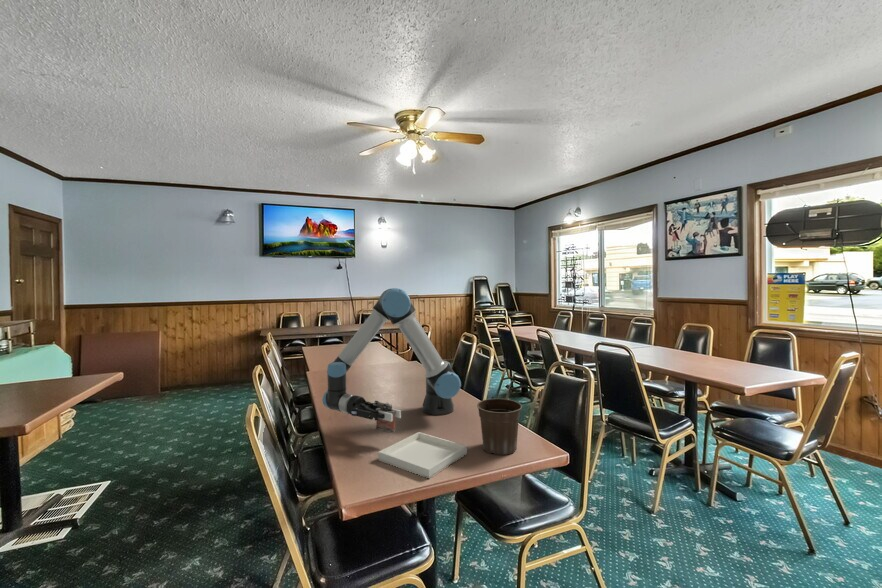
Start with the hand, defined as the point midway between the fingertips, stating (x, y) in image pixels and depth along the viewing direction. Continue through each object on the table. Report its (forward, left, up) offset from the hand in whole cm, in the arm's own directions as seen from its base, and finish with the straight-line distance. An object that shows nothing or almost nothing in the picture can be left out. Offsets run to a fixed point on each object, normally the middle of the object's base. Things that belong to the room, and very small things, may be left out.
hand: (396, 415), depth 141 cm
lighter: (0, -5, -6) cm, 8 cm away
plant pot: (-22, +31, -12) cm, 40 cm away
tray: (0, +13, -12) cm, 17 cm away
